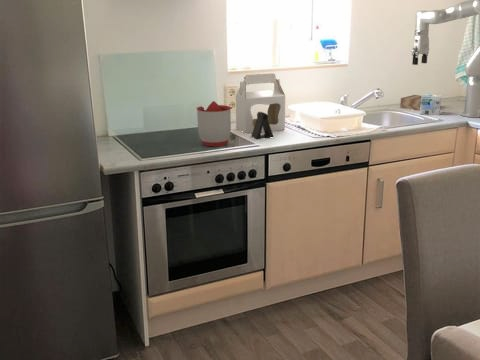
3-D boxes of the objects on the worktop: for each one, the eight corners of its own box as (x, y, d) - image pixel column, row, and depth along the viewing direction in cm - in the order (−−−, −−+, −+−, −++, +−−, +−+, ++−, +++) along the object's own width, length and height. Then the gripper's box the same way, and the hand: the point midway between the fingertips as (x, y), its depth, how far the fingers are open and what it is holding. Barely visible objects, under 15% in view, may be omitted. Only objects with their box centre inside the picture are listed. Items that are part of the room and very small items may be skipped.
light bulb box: (419, 114, 317) (421, 95, 314) (419, 112, 323) (421, 93, 320) (439, 115, 314) (441, 96, 311) (439, 113, 320) (441, 94, 317)
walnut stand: (437, 107, 337) (438, 97, 335) (424, 111, 326) (425, 100, 324) (413, 104, 348) (414, 94, 346) (400, 107, 337) (400, 97, 335)
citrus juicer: (220, 138, 268) (219, 96, 262) (237, 145, 254) (237, 102, 247) (190, 142, 261) (189, 99, 255) (206, 150, 247) (205, 105, 240)
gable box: (274, 124, 296) (274, 71, 287) (285, 129, 284) (286, 74, 275) (235, 128, 288) (234, 74, 279) (245, 133, 276) (244, 77, 268)
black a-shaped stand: (268, 135, 273) (268, 110, 270) (273, 137, 268) (273, 112, 264) (251, 136, 270) (251, 112, 266) (256, 139, 265) (256, 114, 261)
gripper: (419, 34, 309) (417, 65, 314) (435, 32, 320) (433, 63, 325) (407, 34, 314) (405, 64, 319) (423, 32, 325) (421, 62, 330)
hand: (419, 63), depth 322 cm, fingers open, 9 cm apart
